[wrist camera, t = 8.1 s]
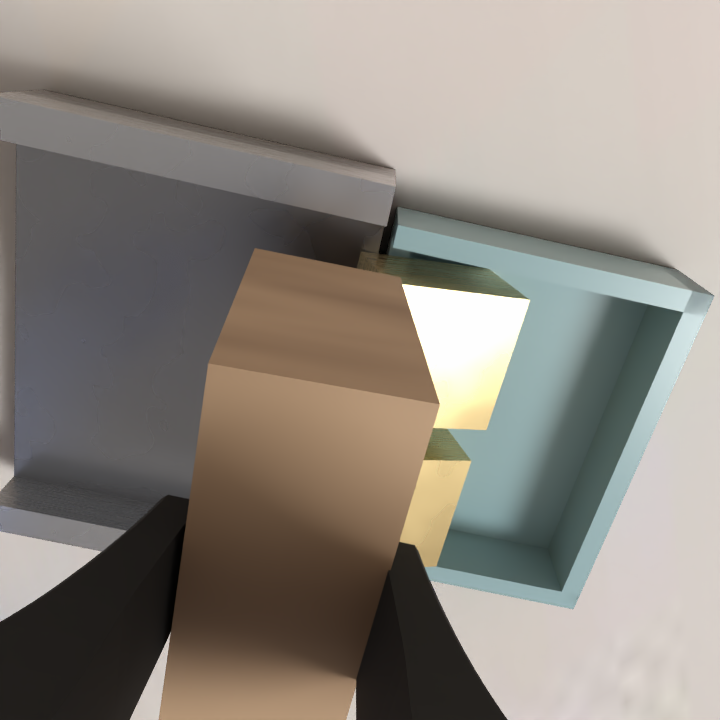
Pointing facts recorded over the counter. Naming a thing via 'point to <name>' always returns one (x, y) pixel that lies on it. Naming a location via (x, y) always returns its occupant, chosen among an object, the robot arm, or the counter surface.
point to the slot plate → (143, 292)
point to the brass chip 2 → (435, 496)
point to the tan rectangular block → (296, 491)
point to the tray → (557, 403)
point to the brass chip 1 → (459, 331)
